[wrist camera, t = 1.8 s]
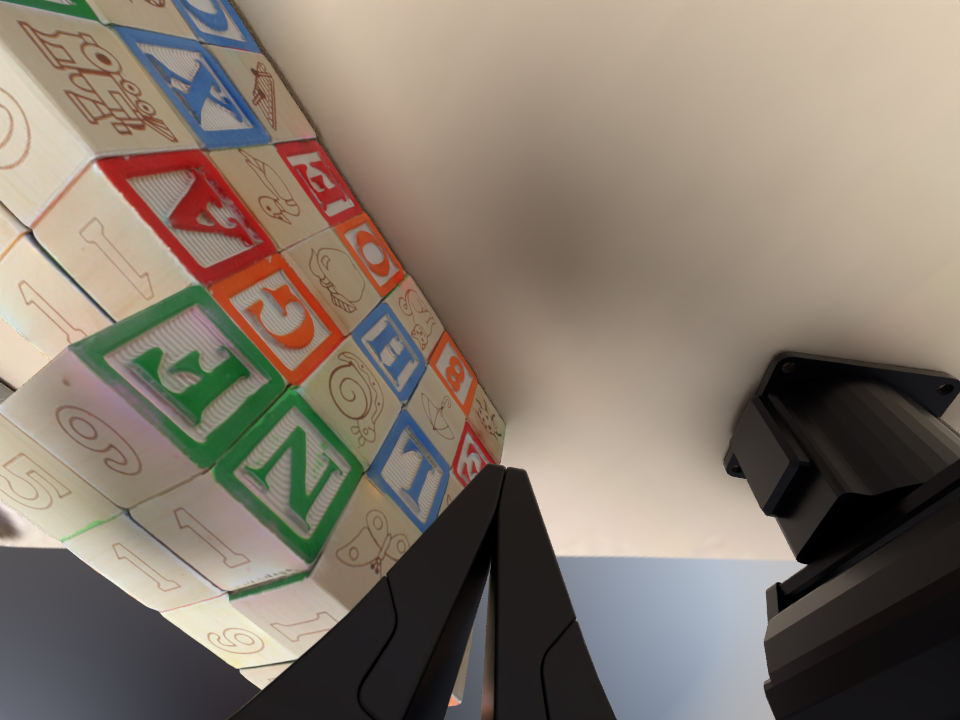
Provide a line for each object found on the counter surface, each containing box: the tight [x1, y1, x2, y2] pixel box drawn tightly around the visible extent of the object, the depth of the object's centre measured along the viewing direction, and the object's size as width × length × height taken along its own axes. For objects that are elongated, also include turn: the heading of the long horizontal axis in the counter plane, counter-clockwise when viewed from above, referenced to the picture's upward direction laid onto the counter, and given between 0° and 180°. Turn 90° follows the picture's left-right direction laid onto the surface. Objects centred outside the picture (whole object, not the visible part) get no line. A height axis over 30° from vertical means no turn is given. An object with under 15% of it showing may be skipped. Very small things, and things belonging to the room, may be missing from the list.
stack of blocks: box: [0, 0, 505, 706], centre depth 14 cm, size 21×6×12 cm, turn 30°
